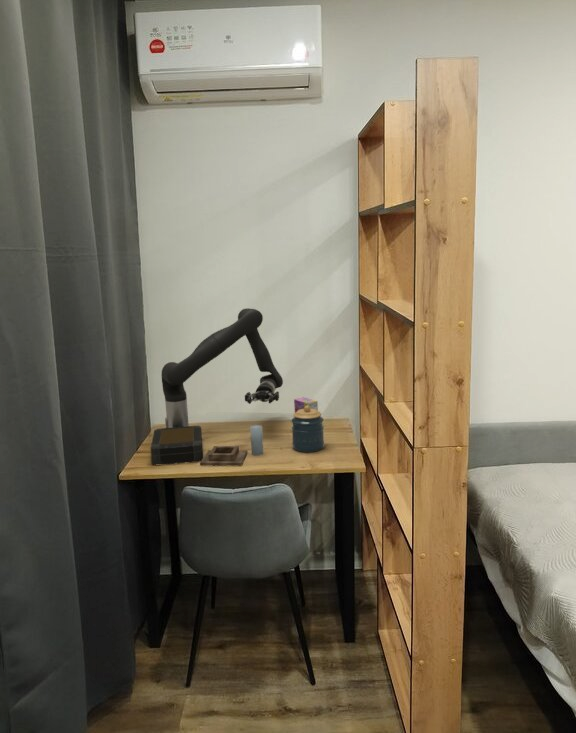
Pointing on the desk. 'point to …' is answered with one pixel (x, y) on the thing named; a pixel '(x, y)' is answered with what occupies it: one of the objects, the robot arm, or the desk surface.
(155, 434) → the cash box
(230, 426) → the desk surface
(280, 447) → the desk surface
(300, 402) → the box
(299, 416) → the canister
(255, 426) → the cylinder
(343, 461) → the desk surface
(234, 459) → the holder
